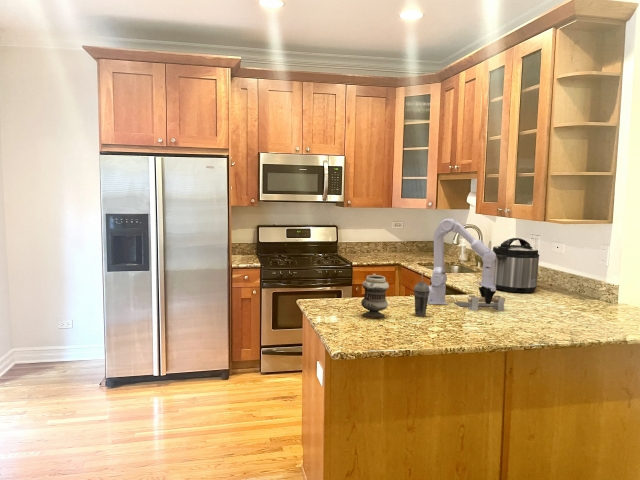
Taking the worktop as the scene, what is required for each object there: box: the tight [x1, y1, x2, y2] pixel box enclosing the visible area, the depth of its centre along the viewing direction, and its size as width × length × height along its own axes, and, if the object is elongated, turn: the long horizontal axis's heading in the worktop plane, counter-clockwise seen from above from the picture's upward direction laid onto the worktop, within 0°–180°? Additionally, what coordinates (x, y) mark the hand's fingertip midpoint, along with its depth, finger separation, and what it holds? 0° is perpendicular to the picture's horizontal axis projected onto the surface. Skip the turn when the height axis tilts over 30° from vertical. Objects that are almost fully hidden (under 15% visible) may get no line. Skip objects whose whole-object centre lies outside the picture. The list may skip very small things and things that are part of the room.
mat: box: [453, 301, 494, 308], centre depth 239 cm, size 22×8×1 cm, turn 95°
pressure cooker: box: [492, 237, 540, 294], centre depth 285 cm, size 30×28×32 cm
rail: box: [467, 296, 506, 303], centre depth 230 cm, size 18×2×2 cm, turn 95°
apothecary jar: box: [360, 274, 390, 319], centre depth 210 cm, size 12×12×18 cm
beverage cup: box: [413, 272, 430, 318], centre depth 213 cm, size 7×7×20 cm
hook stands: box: [467, 294, 505, 312], centre depth 230 cm, size 16×5×6 cm, turn 95°
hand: (486, 302), depth 230 cm, fingers open, 4 cm apart
